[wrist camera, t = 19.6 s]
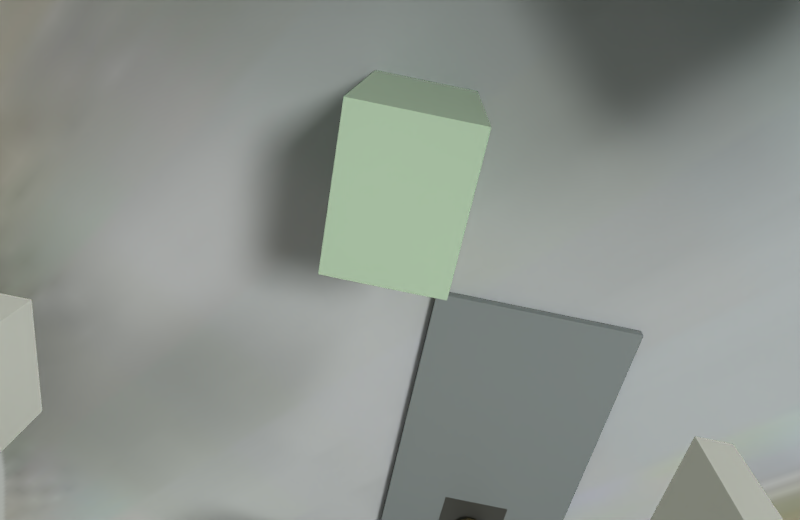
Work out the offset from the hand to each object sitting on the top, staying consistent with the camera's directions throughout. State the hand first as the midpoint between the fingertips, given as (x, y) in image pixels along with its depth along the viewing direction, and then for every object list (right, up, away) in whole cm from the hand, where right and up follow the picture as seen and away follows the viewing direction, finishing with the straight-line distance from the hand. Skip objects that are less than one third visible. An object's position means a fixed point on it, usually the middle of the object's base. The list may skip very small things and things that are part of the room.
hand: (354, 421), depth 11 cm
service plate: (+8, -11, +31) cm, 34 cm away
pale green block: (+2, +10, +23) cm, 25 cm away
